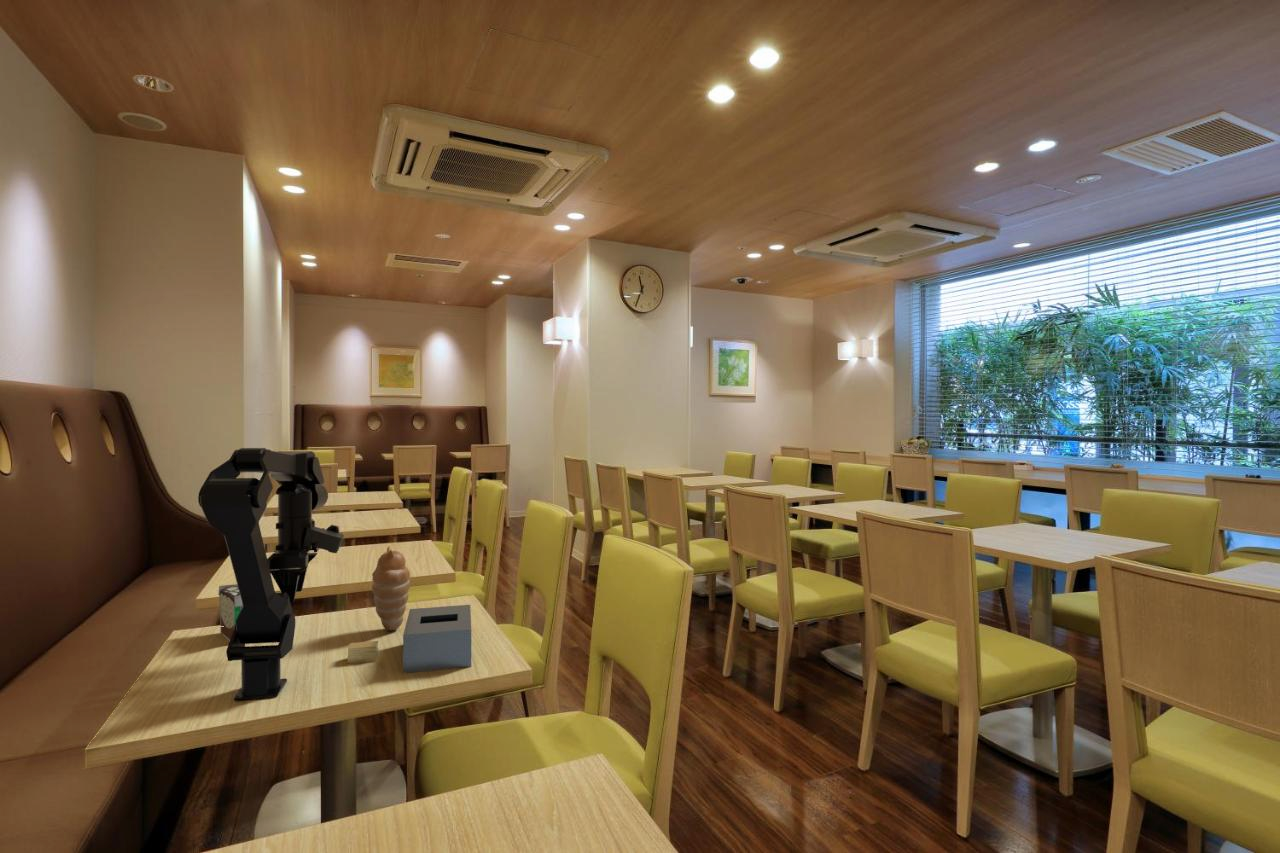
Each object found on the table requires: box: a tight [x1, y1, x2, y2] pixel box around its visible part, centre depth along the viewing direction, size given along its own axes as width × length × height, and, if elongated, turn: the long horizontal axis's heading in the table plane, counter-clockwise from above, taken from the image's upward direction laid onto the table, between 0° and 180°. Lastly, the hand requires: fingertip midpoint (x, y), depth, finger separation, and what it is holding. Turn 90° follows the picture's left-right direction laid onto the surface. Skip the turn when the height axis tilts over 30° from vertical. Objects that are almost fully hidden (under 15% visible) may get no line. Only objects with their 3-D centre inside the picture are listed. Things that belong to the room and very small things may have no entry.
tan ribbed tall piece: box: [371, 545, 411, 632], centre depth 139 cm, size 9×8×18 cm
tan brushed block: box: [347, 640, 379, 665], centre depth 123 cm, size 3×5×3 cm, turn 106°
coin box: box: [402, 604, 472, 674], centre depth 126 cm, size 16×12×7 cm
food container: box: [218, 583, 243, 641], centre depth 136 cm, size 12×6×10 cm, turn 47°
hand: (294, 597), depth 123 cm, fingers open, 9 cm apart
